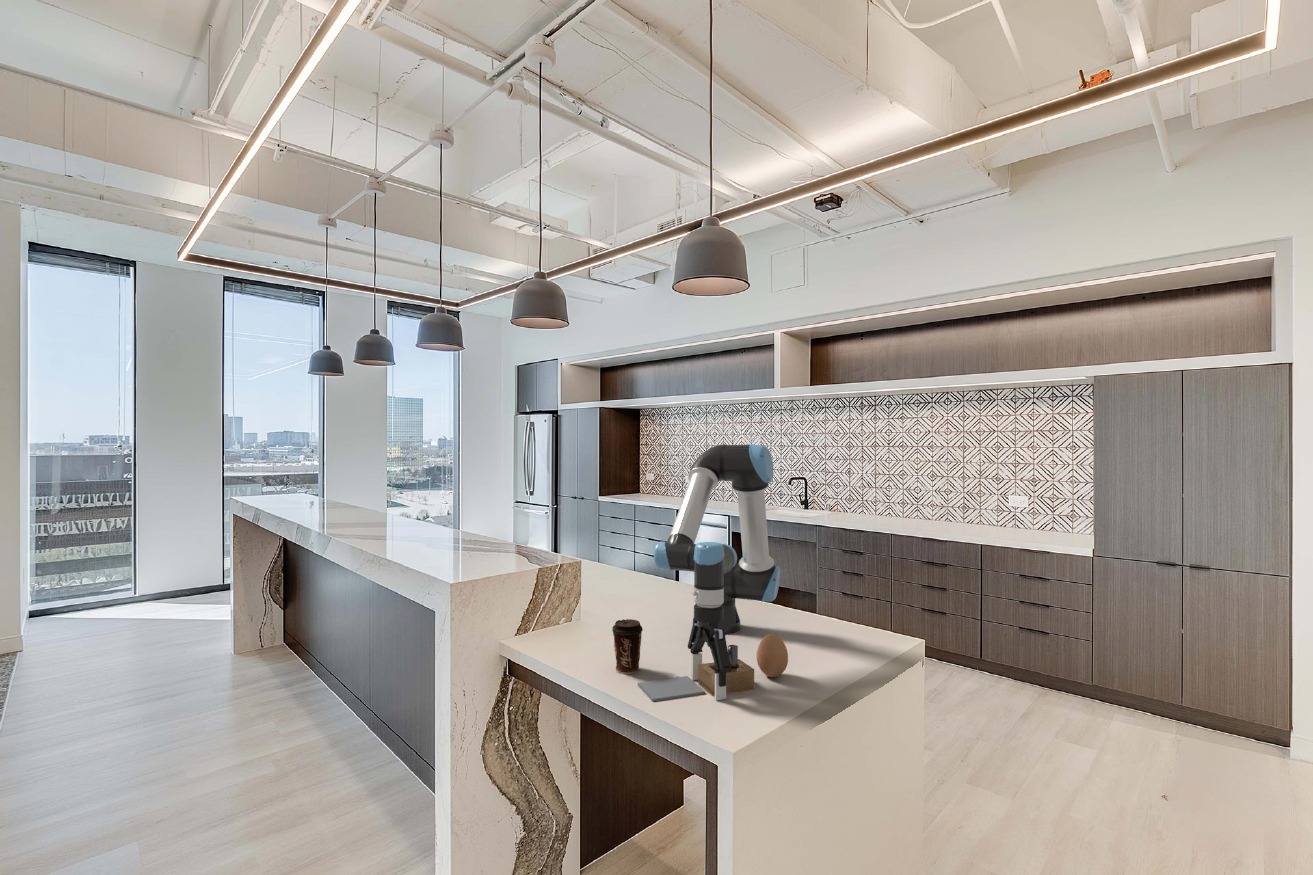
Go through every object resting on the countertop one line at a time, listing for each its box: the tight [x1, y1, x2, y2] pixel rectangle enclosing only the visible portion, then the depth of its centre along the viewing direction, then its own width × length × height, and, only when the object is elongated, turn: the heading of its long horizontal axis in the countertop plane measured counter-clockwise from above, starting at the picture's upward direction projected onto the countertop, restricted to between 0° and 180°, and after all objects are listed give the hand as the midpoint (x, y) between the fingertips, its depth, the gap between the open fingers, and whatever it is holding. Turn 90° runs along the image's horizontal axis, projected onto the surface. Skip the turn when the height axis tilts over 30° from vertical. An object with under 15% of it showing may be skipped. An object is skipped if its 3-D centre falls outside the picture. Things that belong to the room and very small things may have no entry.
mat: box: [637, 675, 706, 702], centre depth 155 cm, size 14×11×1 cm
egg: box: [756, 633, 789, 678], centre depth 164 cm, size 8×8×11 cm
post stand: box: [727, 644, 739, 669], centre depth 158 cm, size 3×3×10 cm
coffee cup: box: [612, 618, 644, 675], centre depth 169 cm, size 9×8×13 cm
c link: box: [697, 658, 755, 696], centre depth 157 cm, size 12×8×5 cm, turn 111°
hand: (708, 688), depth 155 cm, fingers open, 13 cm apart
